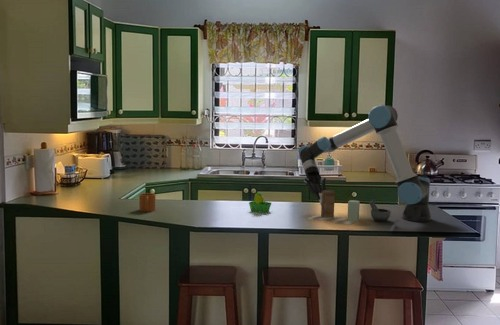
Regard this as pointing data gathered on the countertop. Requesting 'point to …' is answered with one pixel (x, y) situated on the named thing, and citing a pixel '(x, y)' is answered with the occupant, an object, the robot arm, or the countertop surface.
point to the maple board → (333, 219)
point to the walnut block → (327, 204)
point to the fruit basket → (259, 204)
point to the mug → (147, 202)
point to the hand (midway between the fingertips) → (322, 204)
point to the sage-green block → (353, 210)
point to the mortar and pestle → (379, 213)
